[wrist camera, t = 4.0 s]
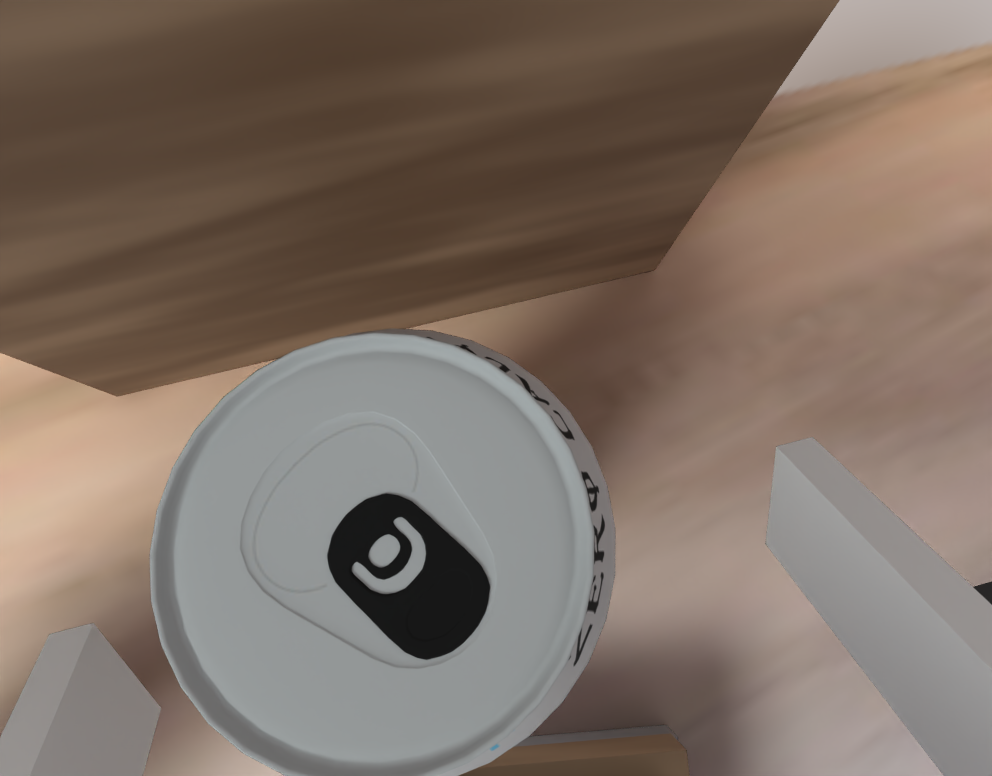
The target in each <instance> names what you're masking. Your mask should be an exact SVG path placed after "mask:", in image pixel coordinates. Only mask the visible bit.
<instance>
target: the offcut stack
mask: <svg viewBox="0 0 992 776" xmlns="http://www.w3.org/2000/svg"><path fill="white" fill-rule="evenodd" d="M458 776H690V774H689V766H688V758H687V750H686V749H685V748H684V747H683V746H682V745H681V744H680V743H679V742H678V736H677V735H676V734H675V733H674V732H673V731H672V730H671V729H670V728H669V727H668V726H667V725H658V726H646V727H635V728H623V729H611V730H600V731H588V732H576V733H565V734H553V735H541V736H530V737H527V738H526V739H524V740H523V741H521V742H520V743H518V744H517V745H515V746H514V747H512V748H511V749H509V750H508V751H506V752H505V753H503V754H502V755H501V756H499V757H498V758H496V759H495V760H493V761H492V762H490V763H488V764H486V765H483V766H481V767H478V768H476V769H473V770H471V771H468V772H466V773H463V774H461V775H458Z"/></svg>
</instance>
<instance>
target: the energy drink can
mask: <svg viewBox="0 0 992 776" xmlns="http://www.w3.org/2000/svg"><path fill="white" fill-rule="evenodd" d="M614 578H615V524H614V519H613V513H612V508H611V503H610V497H609V492H608V487H607V484H606V481H605V479H604V476H603V474H602V471H601V469H600V466H599V463H598V461H597V458H596V456H595V453H594V451H593V448H592V446H591V444H590V443H589V441H588V440H587V438H586V437H585V435H584V433H583V432H582V430H581V429H580V427H579V425H578V424H577V422H576V421H575V419H574V418H573V416H572V414H571V413H570V411H569V410H568V409H567V408H566V407H565V406H564V405H563V404H562V403H561V402H560V401H559V400H558V398H557V397H556V396H555V395H554V394H553V393H552V392H551V391H550V390H549V389H548V388H547V387H546V386H545V385H544V384H543V382H542V381H540V380H539V379H538V378H536V377H535V376H533V375H532V374H531V373H529V372H528V371H526V370H525V369H524V368H522V367H521V366H519V365H518V364H517V363H515V362H514V361H513V360H511V359H510V358H508V357H506V356H504V355H502V354H500V353H498V352H495V351H493V350H491V349H489V348H487V347H485V346H483V345H480V344H478V343H476V342H474V341H472V340H468V339H464V338H460V337H456V336H452V335H448V334H444V333H440V332H436V331H429V330H412V329H394V328H391V329H383V330H376V331H368V332H360V333H353V334H349V335H346V336H341V337H334V338H330V339H327V340H324V341H321V342H318V343H315V344H312V345H309V346H306V347H303V348H300V349H296V350H294V351H292V352H290V353H288V354H286V355H284V356H283V357H281V358H279V359H277V360H275V361H273V362H271V363H270V364H268V365H266V366H264V367H262V368H260V369H259V370H257V371H256V372H254V373H253V374H252V375H251V376H249V377H248V378H247V379H246V380H244V381H243V382H242V383H241V384H239V385H238V386H237V387H236V388H234V389H233V390H232V391H231V392H229V393H228V394H227V395H226V396H224V397H223V398H222V399H221V401H220V402H219V403H218V404H217V405H216V406H215V408H214V409H213V410H212V411H211V412H210V413H209V414H208V416H207V417H206V418H205V419H204V420H203V421H202V422H201V424H200V425H199V426H198V427H197V428H196V429H195V431H194V433H193V434H192V436H191V438H190V439H189V441H188V443H187V444H186V446H185V448H184V449H183V451H182V453H181V454H180V456H179V458H178V459H177V461H176V463H175V465H174V466H173V468H172V471H171V473H170V476H169V479H168V482H167V484H166V487H165V490H164V492H163V495H162V498H161V501H160V503H159V506H158V509H157V513H156V519H155V525H154V531H153V537H152V543H151V549H150V586H151V603H152V607H153V612H154V616H155V620H156V625H157V629H158V633H159V638H160V642H161V646H162V648H163V650H164V652H165V654H166V657H167V659H168V661H169V663H170V665H171V667H172V669H173V672H174V674H175V676H176V678H177V680H178V682H179V685H180V687H181V688H182V689H183V691H184V692H185V693H186V695H187V696H188V697H189V699H190V700H191V701H192V703H193V704H194V705H195V707H196V708H197V709H198V711H199V712H200V713H201V715H202V716H203V717H204V719H205V720H206V721H207V723H208V724H209V725H210V726H212V727H213V728H214V729H215V730H216V731H217V732H219V733H220V734H221V735H222V736H223V737H224V738H226V739H227V740H228V741H229V742H230V743H231V744H233V745H234V746H235V747H236V748H237V749H239V750H240V751H241V752H242V753H243V754H245V755H247V756H249V757H251V758H253V759H254V760H256V761H258V762H260V763H262V764H264V765H266V766H268V767H270V768H271V769H273V770H275V771H277V772H279V773H281V774H283V775H285V776H458V775H461V774H463V773H466V772H468V771H471V770H473V769H476V768H478V767H481V766H483V765H486V764H488V763H490V762H492V761H493V760H495V759H496V758H498V757H499V756H501V755H502V754H503V753H505V752H506V751H508V750H509V749H511V748H512V747H514V746H515V745H517V744H518V743H520V742H521V741H523V740H524V739H526V738H527V737H529V736H530V735H531V734H532V733H533V732H534V731H535V730H536V729H537V728H538V727H539V726H540V725H541V724H542V723H543V722H544V721H545V720H546V719H547V718H548V717H549V716H550V715H551V713H552V712H553V711H554V710H555V709H556V708H557V707H558V706H559V705H560V704H561V703H562V702H563V701H564V699H565V698H566V696H567V695H568V693H569V692H570V690H571V689H572V687H573V686H574V684H575V683H576V681H577V680H578V678H579V676H580V675H581V673H582V672H583V670H584V669H585V667H586V666H587V664H588V663H589V660H590V658H591V656H592V653H593V651H594V648H595V646H596V643H597V641H598V638H599V636H600V634H601V631H602V629H603V626H604V624H605V621H606V618H607V613H608V608H609V603H610V598H611V593H612V588H613V583H614Z"/></svg>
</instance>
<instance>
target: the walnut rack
mask: <svg viewBox="0 0 992 776" xmlns="http://www.w3.org/2000/svg"><path fill="white" fill-rule="evenodd" d="M838 2H839V0H0V353H2V354H5V355H8V356H10V357H13V358H16V359H18V360H21V361H24V362H26V363H29V364H32V365H34V366H37V367H40V368H42V369H45V370H48V371H51V372H53V373H56V374H59V375H61V376H64V377H67V378H69V379H72V380H75V381H77V382H80V383H83V384H85V385H88V386H91V387H93V388H96V389H99V390H101V391H104V392H107V393H109V394H112V395H115V396H121V395H125V394H130V393H134V392H138V391H142V390H147V389H151V388H155V387H159V386H164V385H168V384H172V383H176V382H181V381H185V380H189V379H193V378H198V377H202V376H206V375H210V374H215V373H219V372H223V371H227V370H232V369H236V368H240V367H244V366H249V365H253V364H257V363H261V362H266V361H270V360H274V359H278V358H281V357H283V356H284V355H286V354H288V353H290V352H292V351H294V350H296V349H300V348H303V347H306V346H309V345H312V344H315V343H318V342H321V341H324V340H327V339H330V338H334V337H341V336H346V335H349V334H353V333H360V332H368V331H376V330H383V329H391V328H394V329H406V328H410V327H415V326H419V325H423V324H427V323H432V322H436V321H440V320H444V319H449V318H453V317H457V316H461V315H466V314H470V313H474V312H478V311H483V310H487V309H491V308H495V307H500V306H504V305H508V304H512V303H517V302H521V301H525V300H529V299H534V298H538V297H542V296H546V295H551V294H555V293H559V292H563V291H568V290H572V289H576V288H580V287H585V286H589V285H593V284H598V283H602V282H606V281H610V280H615V279H619V278H623V277H627V276H632V275H636V274H640V273H644V272H649V271H653V270H655V269H656V267H657V266H658V264H659V263H660V262H661V260H662V259H663V257H664V256H665V254H666V253H667V251H668V250H669V248H670V247H671V246H672V244H673V243H674V241H675V240H676V238H677V237H678V235H679V234H680V232H681V231H682V229H683V228H684V227H685V225H686V224H687V222H688V221H689V219H690V218H691V216H692V215H693V213H694V212H695V210H696V209H697V208H698V206H699V205H700V203H701V202H702V200H703V199H704V197H705V196H706V194H707V193H708V191H709V190H710V189H711V187H712V186H713V184H714V183H715V181H716V180H717V178H718V177H719V175H720V174H721V173H722V171H723V170H724V168H725V167H726V165H727V164H728V162H729V161H730V159H731V158H732V156H733V155H734V154H735V152H736V151H737V149H738V148H739V146H740V145H741V143H742V142H743V140H744V139H745V137H746V136H747V135H748V133H749V132H750V130H751V129H752V127H753V126H754V124H755V123H756V121H757V120H758V118H759V117H760V116H761V114H762V113H763V111H764V110H765V108H766V107H767V105H768V104H769V102H770V101H771V100H772V98H773V97H774V95H775V94H776V92H777V91H778V89H779V88H780V86H781V85H782V83H783V82H784V81H785V79H786V77H787V76H788V75H789V73H790V72H791V70H792V69H793V67H794V66H795V64H796V63H797V62H798V60H799V59H800V57H801V56H802V54H803V52H804V51H805V50H806V48H807V47H808V45H809V44H810V42H811V41H812V40H813V38H814V36H815V35H816V34H817V32H818V31H819V29H820V28H821V26H822V25H823V23H824V22H825V21H826V19H827V18H828V16H829V15H830V13H831V12H832V10H833V9H834V8H835V6H836V4H837V3H838Z"/></svg>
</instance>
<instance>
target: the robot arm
mask: <svg viewBox="0 0 992 776" xmlns="http://www.w3.org/2000/svg"><path fill="white" fill-rule="evenodd" d="M765 544H766V545H767V547H768V548H769V549H770V550H771V552H772V553H773V554H774V556H775V557H776V558H777V560H778V561H779V562H780V563H781V565H782V566H783V567H784V569H785V570H786V571H787V573H788V574H789V575H790V576H791V578H792V579H793V580H794V582H795V583H796V584H797V586H798V587H799V588H800V589H801V591H802V592H803V593H804V595H805V596H806V597H807V599H808V600H809V601H810V602H811V604H812V605H813V606H814V608H815V609H816V610H817V612H818V613H819V614H820V615H821V617H822V618H823V619H824V621H825V622H826V623H827V625H828V626H829V627H830V628H831V630H832V631H833V632H834V634H835V635H836V636H837V638H838V639H839V640H840V641H841V643H842V644H843V645H844V647H845V648H846V649H847V651H848V652H849V653H850V654H851V656H852V657H853V658H854V660H855V661H856V662H857V664H858V665H859V666H860V667H861V669H862V670H863V671H864V673H865V674H866V675H867V676H868V678H869V679H870V680H871V682H872V683H873V684H874V686H875V687H876V688H877V689H878V691H879V692H880V693H881V695H882V696H883V697H884V699H885V700H886V701H887V702H888V704H889V705H890V706H891V708H892V709H893V710H894V712H895V713H896V714H897V715H898V717H899V718H900V719H901V721H902V722H903V723H904V725H905V726H906V727H907V728H908V730H909V731H910V732H911V734H912V735H913V736H914V738H915V739H916V740H917V741H918V743H919V744H920V745H921V747H922V748H923V749H924V751H925V752H926V753H927V754H928V756H929V757H930V758H931V760H932V761H933V762H934V764H935V765H936V766H937V767H938V769H939V770H940V771H941V773H942V774H943V775H944V776H992V582H989V583H985V584H982V585H978V586H975V587H972V586H971V585H970V584H969V583H968V582H967V581H966V580H965V579H964V578H963V577H962V576H961V575H959V574H958V573H957V572H956V571H955V570H954V569H953V568H952V567H951V566H950V565H949V564H948V563H947V562H946V561H944V560H943V559H942V558H941V557H940V556H939V555H938V554H937V553H936V552H935V551H934V550H933V549H932V548H931V547H930V546H928V545H927V544H926V543H925V542H924V541H923V540H922V539H921V538H920V537H919V536H918V535H917V534H916V533H915V532H913V531H912V530H911V529H910V528H909V527H908V526H907V525H906V524H905V523H904V522H903V521H902V520H901V519H900V518H898V517H897V516H896V515H895V514H894V513H893V512H892V511H891V510H890V509H889V508H888V507H887V506H886V505H885V504H884V503H882V502H881V501H880V500H879V499H878V498H877V497H876V496H875V495H874V494H873V493H872V492H871V491H870V490H869V489H867V488H866V487H865V486H864V485H863V484H862V483H861V482H860V481H859V480H858V479H857V478H856V477H855V476H854V475H853V474H851V473H850V472H849V471H848V470H847V469H846V468H845V467H844V466H843V465H842V464H841V463H840V462H839V461H838V460H836V459H835V458H834V457H833V456H832V455H831V454H830V453H829V452H828V451H827V450H826V449H825V448H824V447H823V446H822V445H820V444H819V443H818V442H817V441H816V440H815V439H814V438H813V437H811V438H807V439H803V440H799V441H795V442H791V443H787V444H784V445H780V446H776V453H775V462H774V471H773V480H772V489H771V498H770V507H769V516H768V525H767V534H766V543H765ZM160 711H161V707H160V706H159V705H158V703H157V702H156V701H155V700H154V698H153V697H152V696H151V695H150V693H149V692H148V691H147V690H146V688H145V687H144V686H143V685H142V683H141V682H140V681H139V680H138V678H137V677H136V676H135V674H134V673H133V672H132V671H131V669H130V668H129V667H128V666H127V664H126V663H125V662H124V661H123V659H122V658H121V657H120V656H119V654H118V653H117V652H116V651H115V649H114V648H113V647H112V646H111V644H110V643H109V642H108V641H107V639H106V638H105V637H104V636H103V634H102V633H101V632H100V631H99V629H98V628H97V627H96V626H95V624H94V623H91V624H87V625H83V626H79V627H75V628H72V629H68V630H64V631H60V632H56V633H52V634H49V636H48V638H47V640H46V642H45V645H44V647H43V649H42V651H41V653H40V655H39V657H38V659H37V661H36V663H35V665H34V668H33V670H32V672H31V674H30V676H29V678H28V680H27V682H26V684H25V686H24V688H23V691H22V693H21V695H20V697H19V699H18V701H17V703H16V705H15V707H14V709H13V711H12V714H11V716H10V718H9V720H8V722H7V724H6V726H5V728H4V730H3V732H2V734H1V736H0V776H143V774H144V770H145V766H146V763H147V759H148V755H149V751H150V748H151V744H152V740H153V737H154V733H155V729H156V725H157V722H158V718H159V714H160Z"/></svg>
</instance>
